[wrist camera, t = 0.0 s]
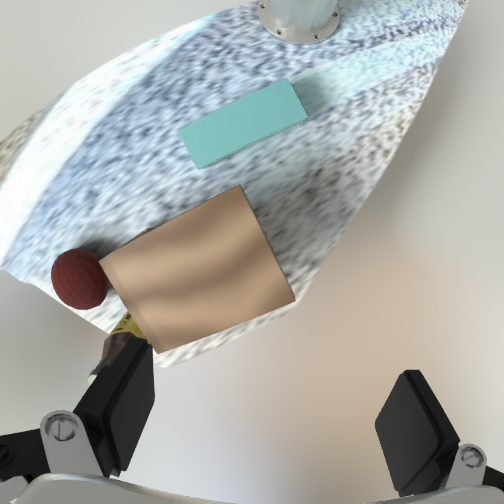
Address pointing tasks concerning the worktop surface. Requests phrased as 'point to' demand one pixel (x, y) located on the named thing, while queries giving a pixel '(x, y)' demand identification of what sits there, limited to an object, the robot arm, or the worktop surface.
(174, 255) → the overhang shelf
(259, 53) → the worktop surface
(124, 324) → the sauce bottle
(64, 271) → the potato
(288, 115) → the teal rectangular block
